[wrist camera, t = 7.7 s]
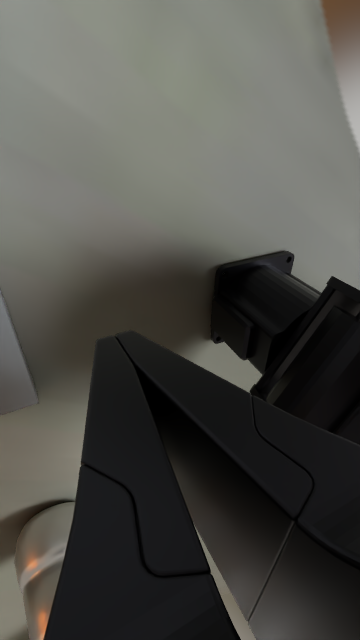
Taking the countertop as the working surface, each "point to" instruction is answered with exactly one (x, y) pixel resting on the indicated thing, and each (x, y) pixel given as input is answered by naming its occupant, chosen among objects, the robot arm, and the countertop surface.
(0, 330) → the bearing block
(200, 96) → the countertop surface
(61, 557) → the plastic bottle
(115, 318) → the countertop surface
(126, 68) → the countertop surface
